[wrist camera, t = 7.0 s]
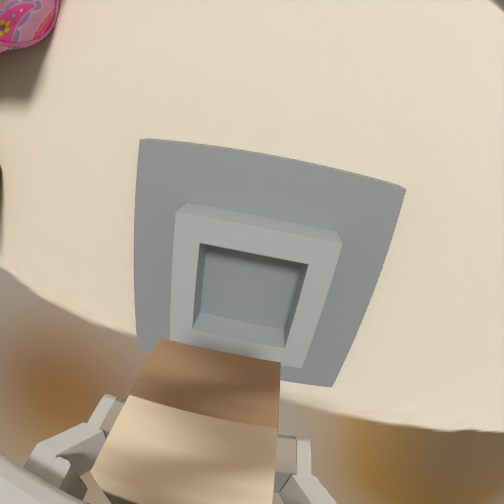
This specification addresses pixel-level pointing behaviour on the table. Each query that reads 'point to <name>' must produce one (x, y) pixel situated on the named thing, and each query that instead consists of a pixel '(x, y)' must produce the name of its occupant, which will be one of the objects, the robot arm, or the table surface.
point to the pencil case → (26, 22)
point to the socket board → (257, 254)
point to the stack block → (194, 431)
